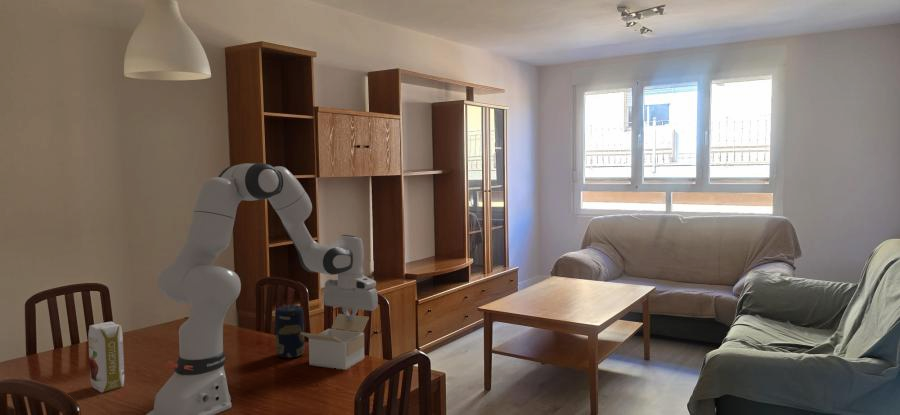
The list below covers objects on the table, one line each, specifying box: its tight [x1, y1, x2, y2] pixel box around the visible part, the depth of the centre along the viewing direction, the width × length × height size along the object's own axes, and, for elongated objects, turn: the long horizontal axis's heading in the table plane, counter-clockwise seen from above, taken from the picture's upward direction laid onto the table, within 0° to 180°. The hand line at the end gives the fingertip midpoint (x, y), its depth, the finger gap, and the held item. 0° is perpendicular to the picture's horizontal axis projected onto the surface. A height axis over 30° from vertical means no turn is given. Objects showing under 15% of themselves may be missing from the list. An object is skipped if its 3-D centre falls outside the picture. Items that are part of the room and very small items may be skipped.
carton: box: [308, 328, 365, 371], centre depth 195 cm, size 12×15×9 cm
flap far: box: [330, 313, 370, 333], centre depth 203 cm, size 6×12×1 cm
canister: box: [274, 304, 305, 359], centre depth 202 cm, size 10×10×18 cm
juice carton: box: [87, 321, 125, 393], centre depth 173 cm, size 8×9×19 cm
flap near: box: [300, 332, 343, 343], centre depth 186 cm, size 6×12×1 cm
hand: (349, 320), depth 202 cm, fingers closed, pressing on flap far
